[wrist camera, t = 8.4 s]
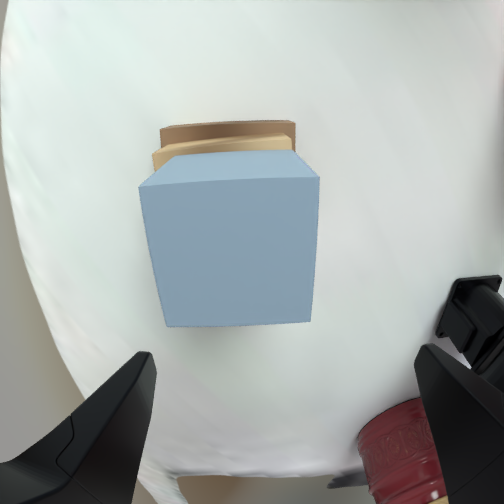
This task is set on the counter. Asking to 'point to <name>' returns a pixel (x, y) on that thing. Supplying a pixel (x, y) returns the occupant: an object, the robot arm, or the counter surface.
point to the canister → (402, 457)
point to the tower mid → (222, 146)
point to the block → (233, 237)
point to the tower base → (225, 130)
